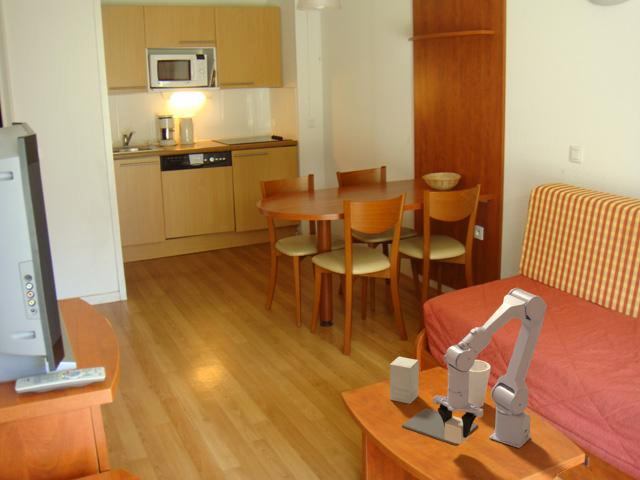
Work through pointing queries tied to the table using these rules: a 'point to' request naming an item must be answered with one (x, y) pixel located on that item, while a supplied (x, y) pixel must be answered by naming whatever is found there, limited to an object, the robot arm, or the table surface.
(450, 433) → the cream cube
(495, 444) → the table surface
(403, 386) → the supplement box
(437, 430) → the charcoal mat
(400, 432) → the table surface
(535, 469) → the table surface
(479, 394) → the foam cup
